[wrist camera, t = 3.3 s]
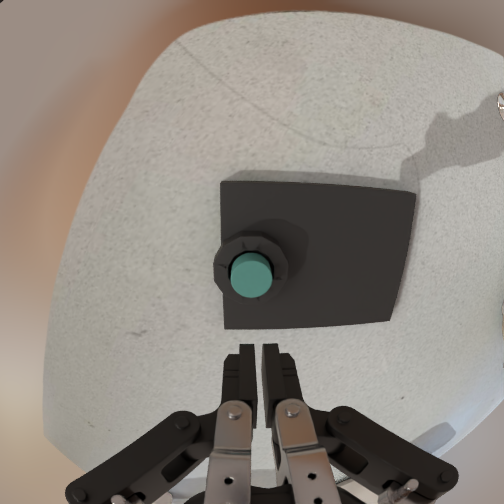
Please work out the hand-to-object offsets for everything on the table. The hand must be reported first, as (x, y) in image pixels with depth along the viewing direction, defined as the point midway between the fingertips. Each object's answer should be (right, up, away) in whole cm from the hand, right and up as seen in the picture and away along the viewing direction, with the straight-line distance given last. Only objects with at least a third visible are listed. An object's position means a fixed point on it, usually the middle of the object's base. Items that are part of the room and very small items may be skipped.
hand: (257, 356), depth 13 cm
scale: (+6, +5, +12) cm, 15 cm away
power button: (0, +4, +10) cm, 10 cm away
